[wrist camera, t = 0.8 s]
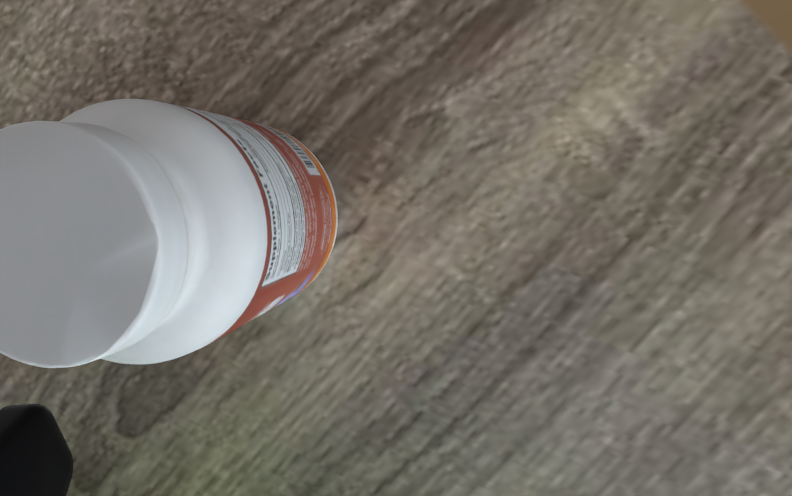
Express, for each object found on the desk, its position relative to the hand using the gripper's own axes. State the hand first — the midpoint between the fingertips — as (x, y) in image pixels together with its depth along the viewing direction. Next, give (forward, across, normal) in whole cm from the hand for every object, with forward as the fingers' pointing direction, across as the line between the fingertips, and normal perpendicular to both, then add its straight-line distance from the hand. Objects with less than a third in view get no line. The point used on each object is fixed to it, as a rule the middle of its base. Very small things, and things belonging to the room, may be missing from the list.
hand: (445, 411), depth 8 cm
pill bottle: (+15, +7, +5) cm, 18 cm away
